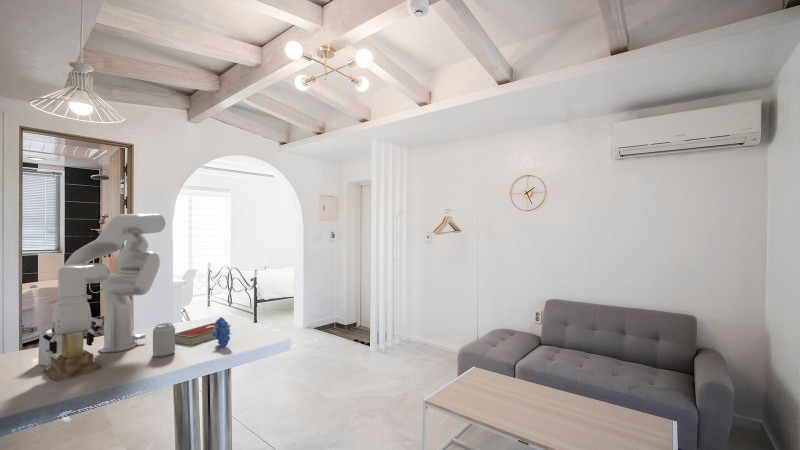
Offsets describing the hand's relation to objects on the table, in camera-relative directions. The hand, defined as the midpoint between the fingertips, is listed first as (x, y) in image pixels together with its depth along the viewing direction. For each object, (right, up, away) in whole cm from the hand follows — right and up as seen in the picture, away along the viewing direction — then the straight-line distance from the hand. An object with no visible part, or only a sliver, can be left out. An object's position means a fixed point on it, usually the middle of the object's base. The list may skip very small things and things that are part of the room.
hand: (72, 348), depth 129 cm
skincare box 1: (-14, -8, +7) cm, 18 cm away
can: (+22, -8, +17) cm, 29 cm away
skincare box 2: (0, -7, 0) cm, 7 cm away
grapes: (+39, -8, +27) cm, 48 cm away
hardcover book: (+25, -9, +40) cm, 48 cm away
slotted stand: (0, -8, 0) cm, 8 cm away
